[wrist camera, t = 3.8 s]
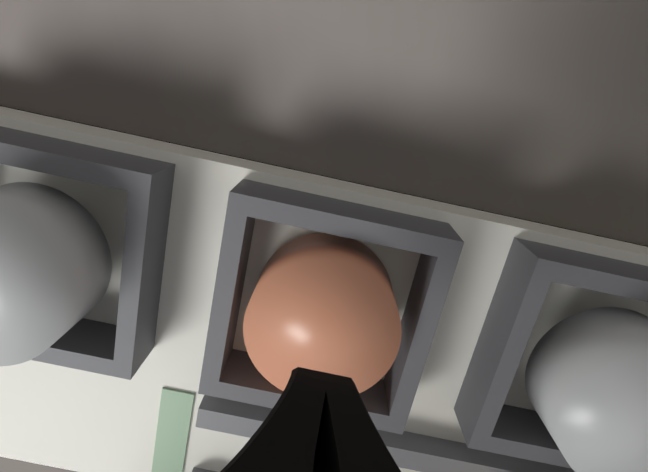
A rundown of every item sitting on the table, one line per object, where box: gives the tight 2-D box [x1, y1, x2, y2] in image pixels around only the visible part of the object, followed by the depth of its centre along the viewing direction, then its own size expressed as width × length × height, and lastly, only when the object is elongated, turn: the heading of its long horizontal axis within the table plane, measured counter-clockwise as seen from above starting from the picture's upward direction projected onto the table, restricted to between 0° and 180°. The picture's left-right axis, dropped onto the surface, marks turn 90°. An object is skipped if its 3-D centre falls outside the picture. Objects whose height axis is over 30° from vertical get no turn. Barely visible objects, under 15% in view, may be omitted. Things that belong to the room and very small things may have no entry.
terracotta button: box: [243, 233, 402, 393], centre depth 15 cm, size 5×5×2 cm
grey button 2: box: [0, 182, 112, 366], centre depth 13 cm, size 5×5×2 cm
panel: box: [0, 106, 648, 472], centre depth 17 cm, size 14×32×4 cm, turn 78°
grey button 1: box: [525, 307, 648, 472], centre depth 14 cm, size 5×5×2 cm
